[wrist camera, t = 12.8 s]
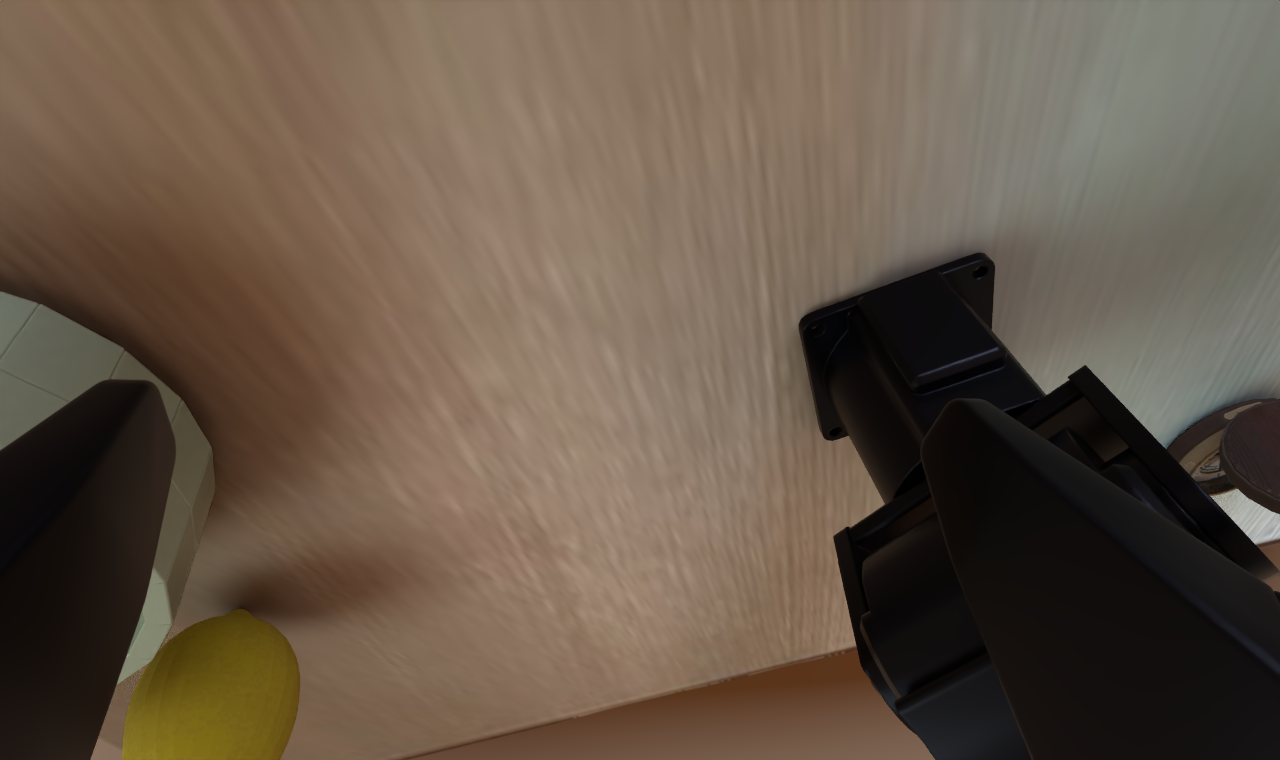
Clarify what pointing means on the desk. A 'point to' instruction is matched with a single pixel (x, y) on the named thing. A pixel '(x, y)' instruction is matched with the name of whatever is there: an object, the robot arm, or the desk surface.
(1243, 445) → the compass
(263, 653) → the lemon
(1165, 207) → the desk surface
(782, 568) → the desk surface
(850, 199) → the desk surface
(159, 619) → the bowl
